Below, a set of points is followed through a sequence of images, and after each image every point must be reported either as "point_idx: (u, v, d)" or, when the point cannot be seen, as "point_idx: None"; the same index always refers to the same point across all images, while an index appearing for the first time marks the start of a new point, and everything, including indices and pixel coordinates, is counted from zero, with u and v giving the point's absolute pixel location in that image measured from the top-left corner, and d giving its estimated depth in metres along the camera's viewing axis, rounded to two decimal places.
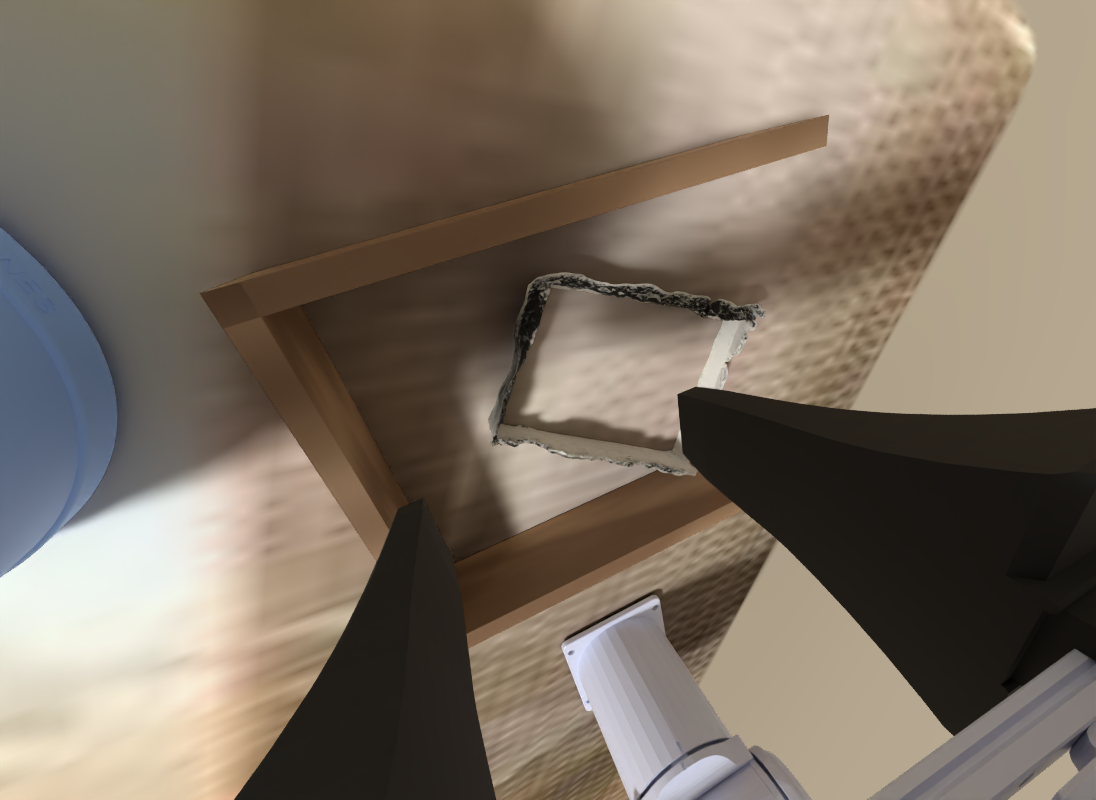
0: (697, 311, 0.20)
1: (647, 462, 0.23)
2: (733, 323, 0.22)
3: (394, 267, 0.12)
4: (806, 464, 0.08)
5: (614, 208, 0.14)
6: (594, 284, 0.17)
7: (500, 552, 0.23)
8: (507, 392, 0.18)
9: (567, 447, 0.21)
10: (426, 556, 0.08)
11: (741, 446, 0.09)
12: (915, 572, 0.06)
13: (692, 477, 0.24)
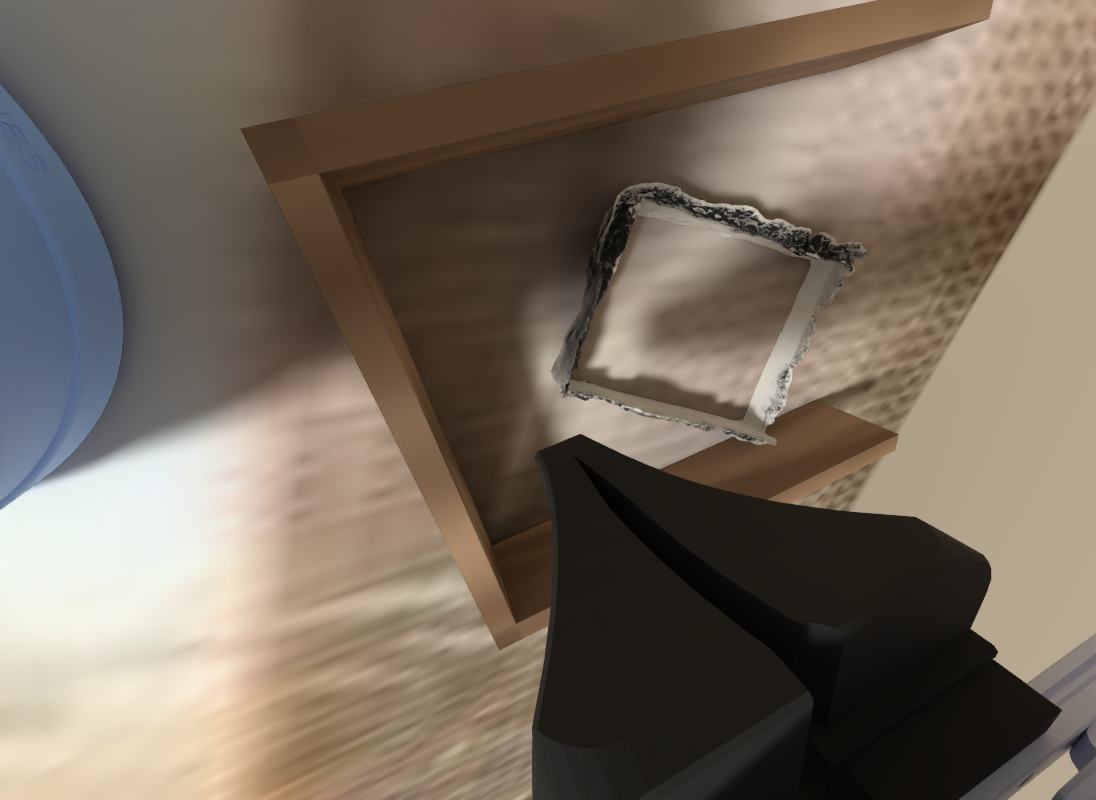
0: (793, 248, 0.17)
1: (724, 428, 0.20)
2: (824, 270, 0.20)
3: (488, 120, 0.09)
4: (647, 541, 0.07)
5: (751, 71, 0.11)
6: (689, 202, 0.15)
7: None
8: (583, 331, 0.15)
9: (639, 406, 0.18)
10: None
11: None
12: None
13: (770, 446, 0.21)
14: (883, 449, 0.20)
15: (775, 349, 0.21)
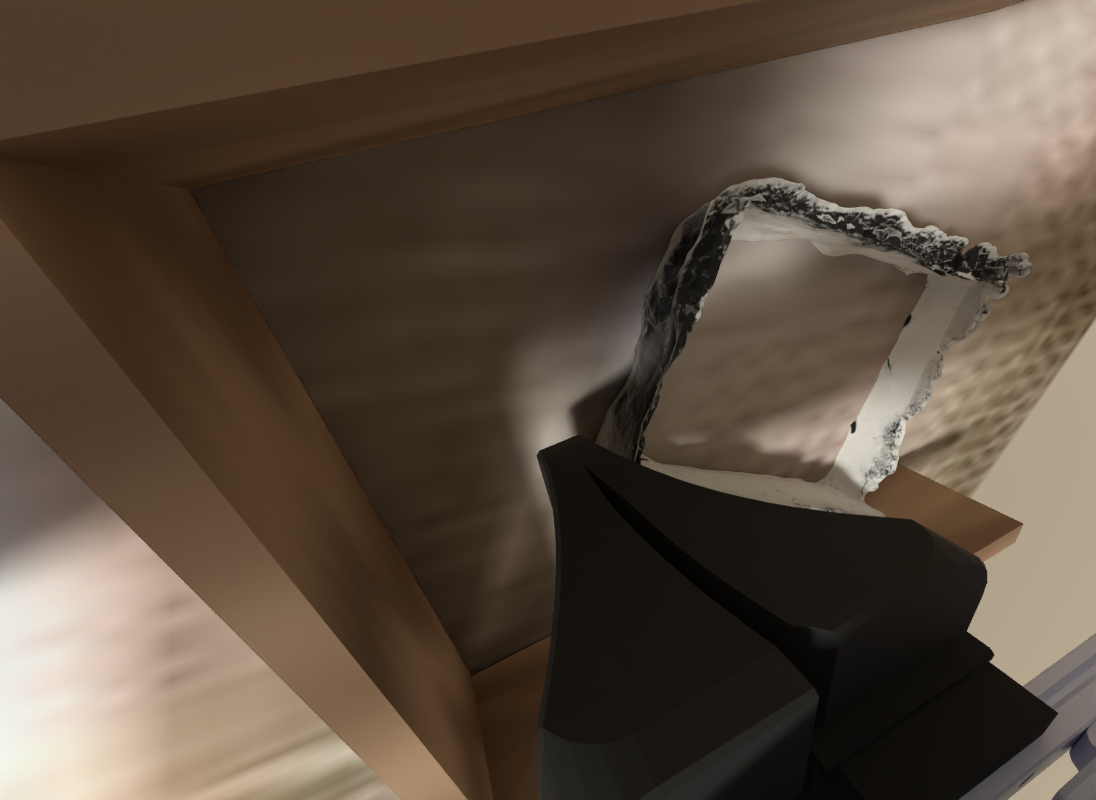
0: (937, 265, 0.12)
1: (820, 507, 0.15)
2: (956, 290, 0.14)
3: (413, 29, 0.04)
4: None
5: None
6: (813, 208, 0.09)
7: None
8: (650, 409, 0.10)
9: None
10: None
11: None
12: None
13: None
14: (1002, 544, 0.15)
15: (880, 394, 0.16)
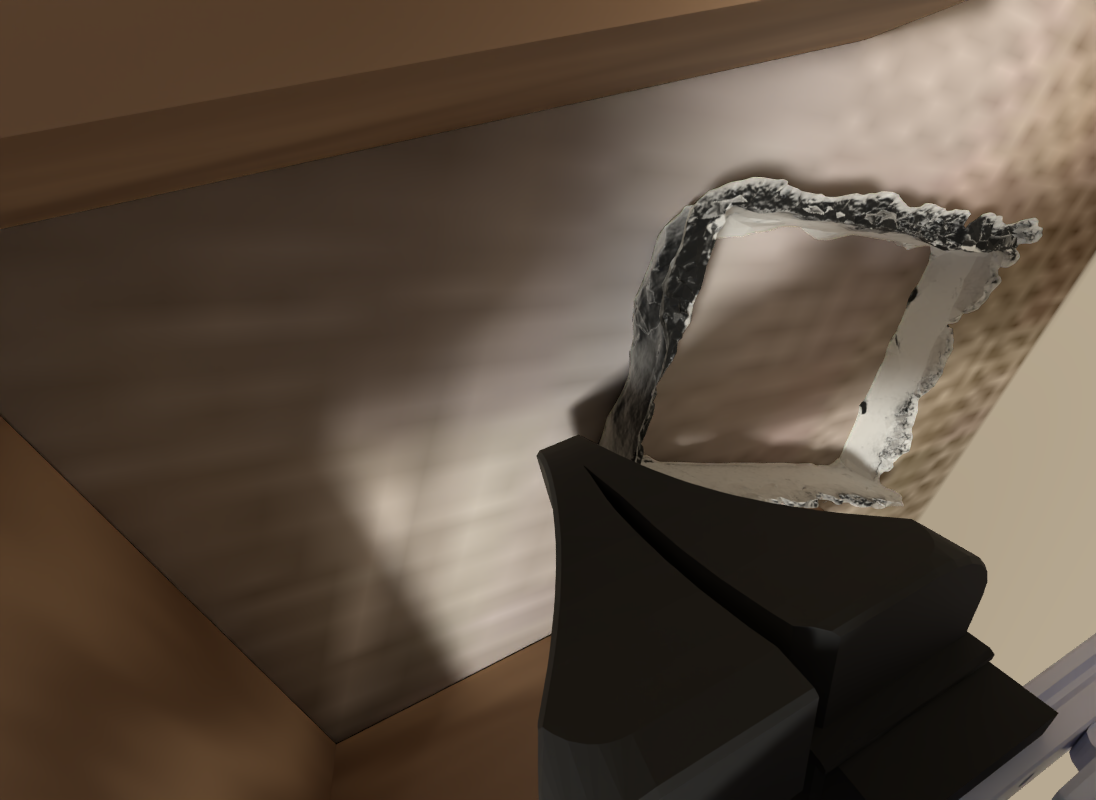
0: (938, 241, 0.12)
1: (833, 493, 0.15)
2: (964, 260, 0.14)
3: None
4: None
5: (652, 14, 0.05)
6: (799, 201, 0.09)
7: (431, 718, 0.14)
8: (646, 419, 0.10)
9: (722, 488, 0.13)
10: None
11: None
12: None
13: None
14: None
15: (889, 372, 0.16)
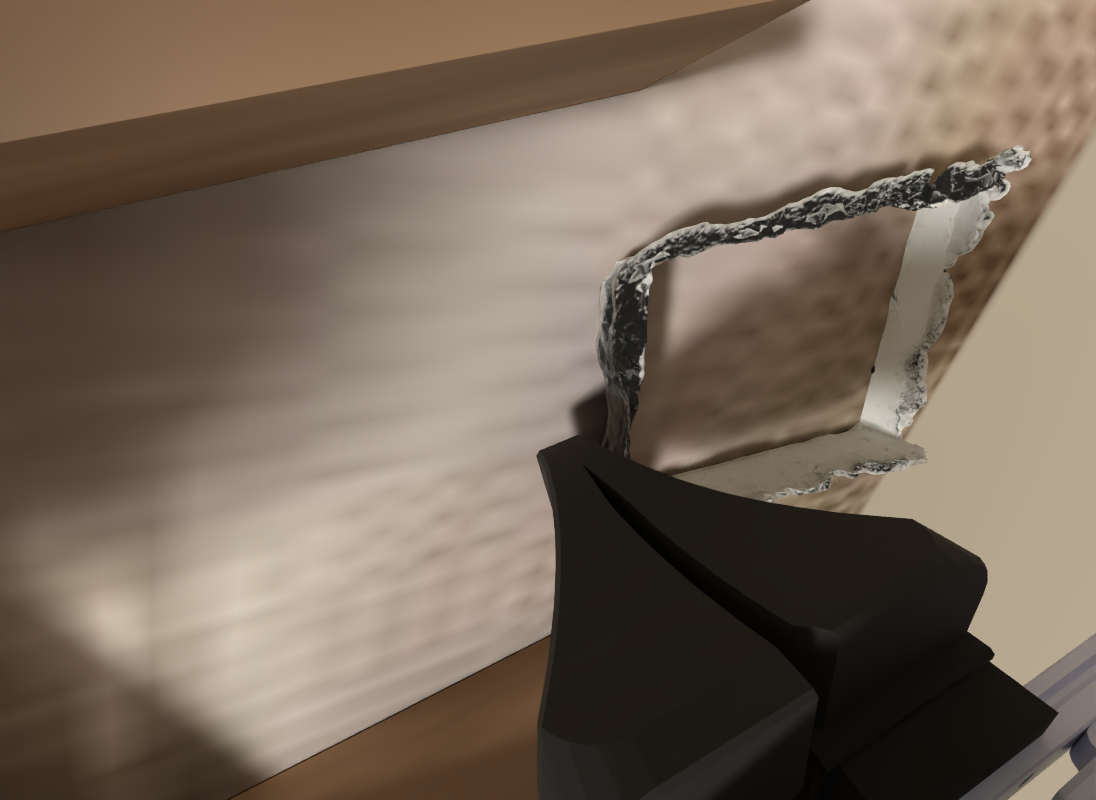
0: (905, 204, 0.11)
1: (848, 466, 0.14)
2: None
3: None
4: None
5: None
6: (727, 232, 0.09)
7: None
8: None
9: (726, 492, 0.13)
10: None
11: None
12: None
13: None
14: None
15: (891, 328, 0.15)
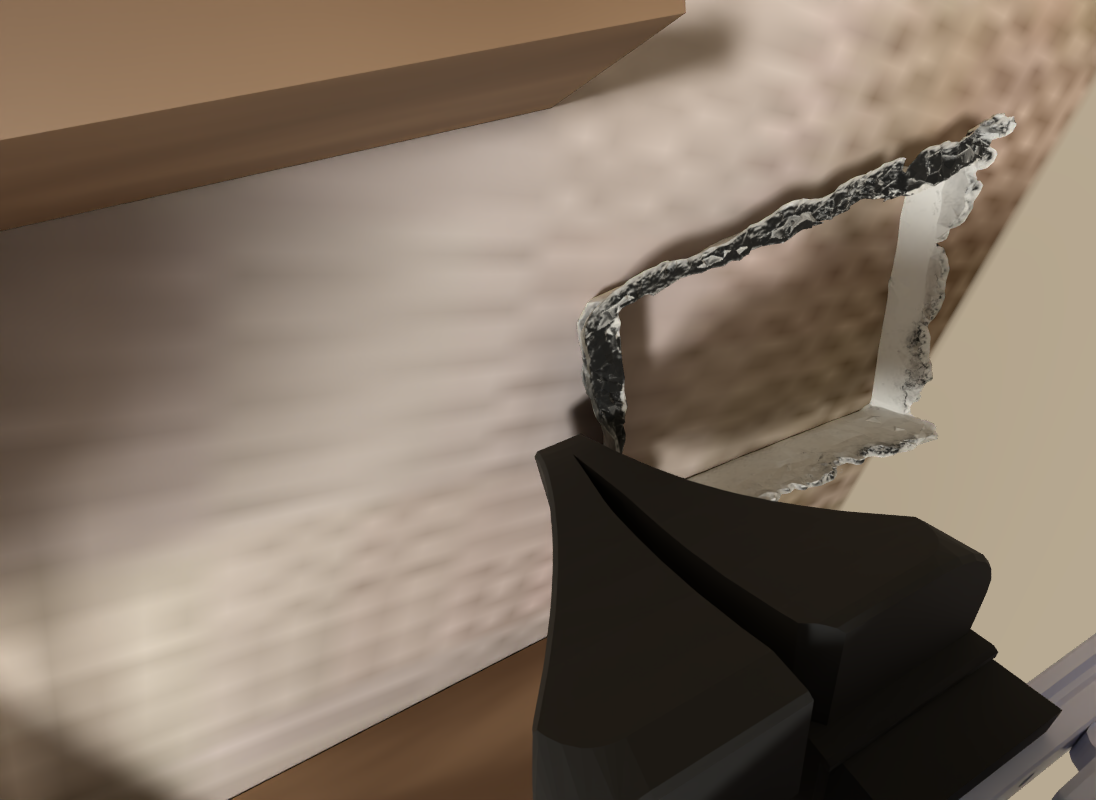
0: (880, 194, 0.11)
1: (853, 452, 0.14)
2: None
3: None
4: (647, 542, 0.07)
5: None
6: (690, 264, 0.09)
7: None
8: None
9: None
10: None
11: None
12: None
13: (534, 699, 0.13)
14: None
15: (889, 306, 0.14)
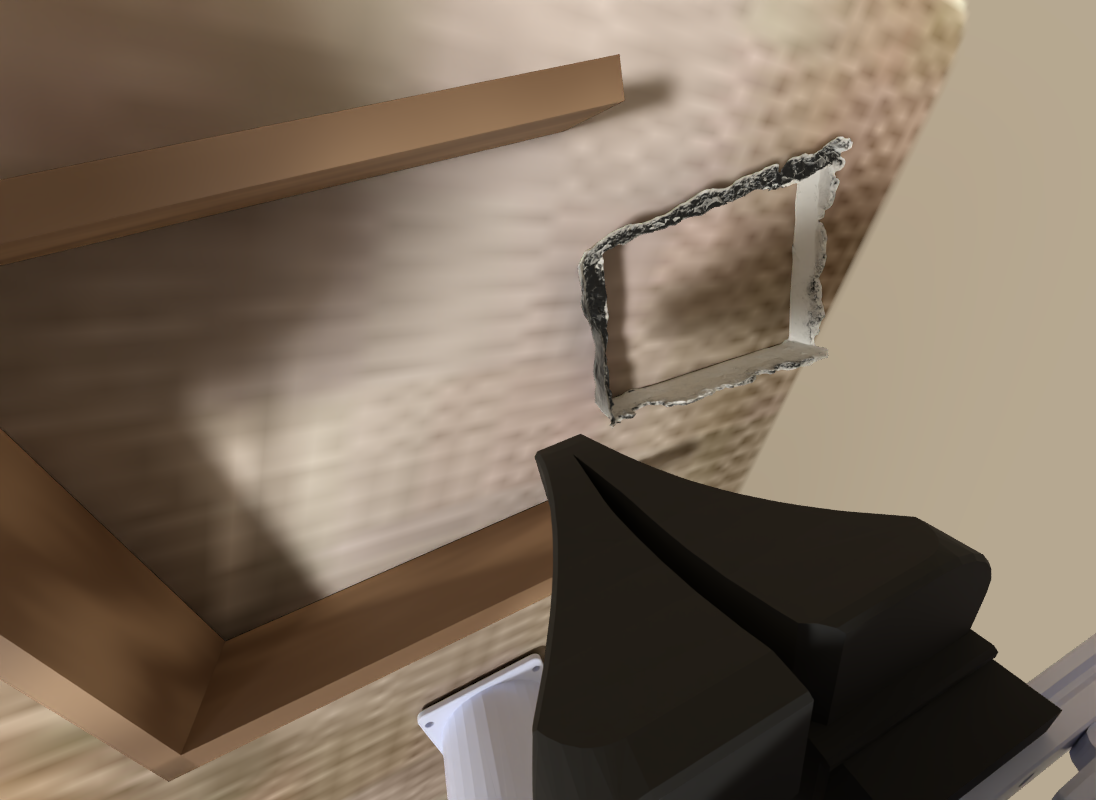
0: (767, 186, 0.17)
1: (769, 367, 0.21)
2: None
3: None
4: (647, 541, 0.07)
5: (266, 180, 0.09)
6: (644, 226, 0.15)
7: (296, 622, 0.18)
8: (605, 375, 0.17)
9: (681, 391, 0.20)
10: None
11: None
12: None
13: (548, 527, 0.20)
14: None
15: (794, 265, 0.21)
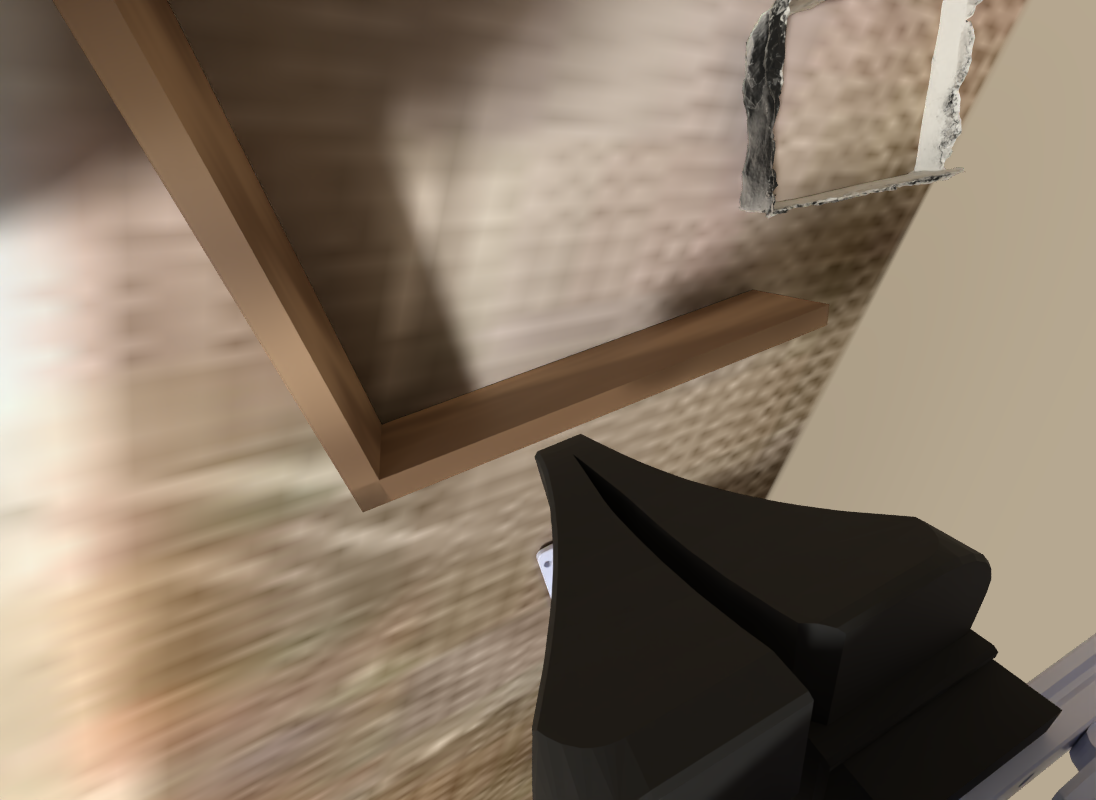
0: None
1: (907, 181, 0.21)
2: None
3: None
4: (647, 541, 0.07)
5: None
6: None
7: (452, 405, 0.18)
8: (772, 151, 0.17)
9: (826, 198, 0.20)
10: None
11: None
12: None
13: (694, 326, 0.20)
14: (812, 321, 0.18)
15: (931, 80, 0.21)
